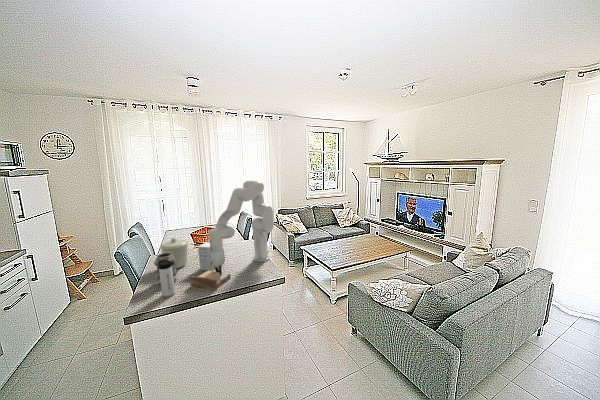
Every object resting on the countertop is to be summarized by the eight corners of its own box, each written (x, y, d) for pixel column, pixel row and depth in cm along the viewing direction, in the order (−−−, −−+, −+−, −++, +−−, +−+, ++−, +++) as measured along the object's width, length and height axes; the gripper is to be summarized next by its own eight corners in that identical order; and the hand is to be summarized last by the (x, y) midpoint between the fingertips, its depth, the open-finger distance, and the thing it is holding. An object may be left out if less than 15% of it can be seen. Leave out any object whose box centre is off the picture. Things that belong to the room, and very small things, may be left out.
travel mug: (165, 292, 138) (160, 259, 134) (176, 291, 138) (172, 258, 135) (159, 298, 132) (155, 264, 128) (172, 297, 132) (167, 263, 129)
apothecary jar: (178, 275, 158) (175, 249, 155) (178, 283, 147) (175, 256, 144) (157, 280, 152) (153, 253, 149) (155, 289, 142) (152, 260, 139)
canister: (165, 274, 160) (162, 244, 157) (159, 265, 174) (156, 237, 170) (194, 265, 172) (191, 237, 169) (186, 258, 185) (183, 232, 182)
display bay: (208, 274, 158) (208, 265, 157) (231, 278, 152) (231, 269, 151) (191, 286, 144) (190, 276, 143) (215, 290, 138) (214, 281, 137)
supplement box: (211, 270, 163) (209, 247, 161) (199, 270, 165) (197, 246, 162) (219, 264, 173) (217, 242, 170) (207, 264, 175) (205, 242, 172)
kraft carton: (209, 277, 155) (208, 270, 154) (220, 280, 151) (219, 272, 150) (197, 284, 146) (196, 277, 145) (207, 287, 142) (207, 280, 141)
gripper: (219, 243, 159) (221, 269, 162) (203, 251, 145) (206, 279, 148) (228, 244, 157) (230, 270, 160) (213, 253, 143) (216, 281, 146)
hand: (218, 275), depth 154 cm, fingers closed
